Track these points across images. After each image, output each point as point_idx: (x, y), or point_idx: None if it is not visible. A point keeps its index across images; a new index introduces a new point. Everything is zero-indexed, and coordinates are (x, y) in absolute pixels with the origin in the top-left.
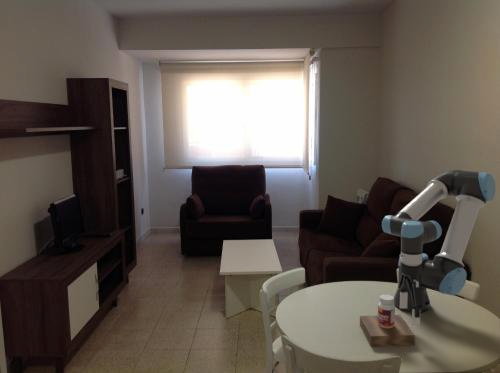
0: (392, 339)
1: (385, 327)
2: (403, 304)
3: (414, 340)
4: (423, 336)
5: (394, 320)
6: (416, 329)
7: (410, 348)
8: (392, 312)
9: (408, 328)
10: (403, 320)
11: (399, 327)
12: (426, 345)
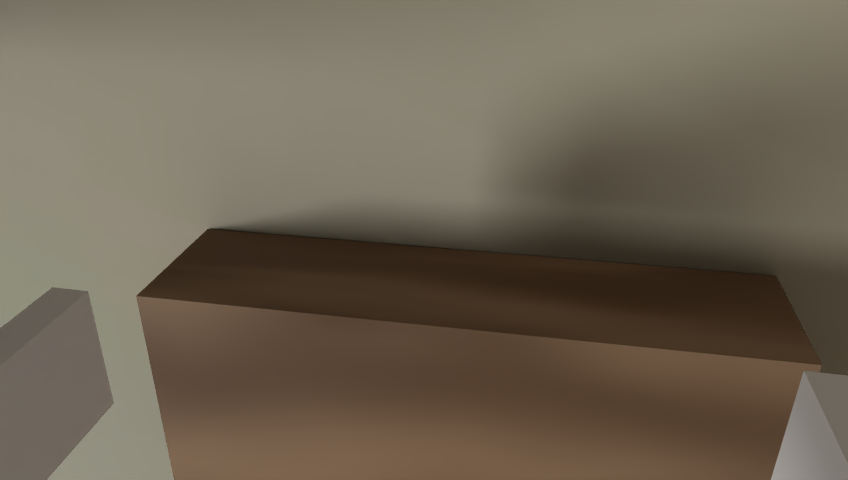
0: None
1: None
2: (49, 406)
3: (796, 316)
4: (559, 48)
5: (318, 431)
6: (345, 64)
7: (838, 352)
8: None
9: (585, 362)
10: (317, 321)
11: (532, 457)
12: (829, 118)
